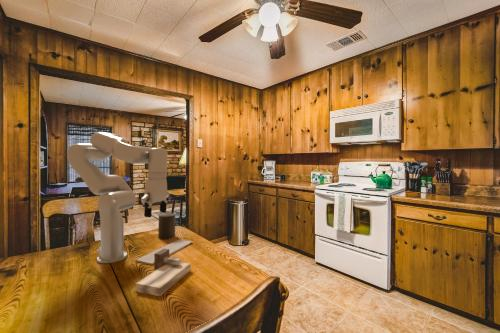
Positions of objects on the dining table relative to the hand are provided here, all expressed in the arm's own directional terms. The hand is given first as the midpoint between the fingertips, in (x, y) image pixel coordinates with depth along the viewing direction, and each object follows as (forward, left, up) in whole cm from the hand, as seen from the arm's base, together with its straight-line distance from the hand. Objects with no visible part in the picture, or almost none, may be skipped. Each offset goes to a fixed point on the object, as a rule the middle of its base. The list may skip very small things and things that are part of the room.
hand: (155, 214), depth 105 cm
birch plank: (+12, -10, -23) cm, 28 cm away
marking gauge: (+9, -3, -23) cm, 25 cm away
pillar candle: (-20, +35, -23) cm, 47 cm away
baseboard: (-7, +16, -24) cm, 29 cm away
